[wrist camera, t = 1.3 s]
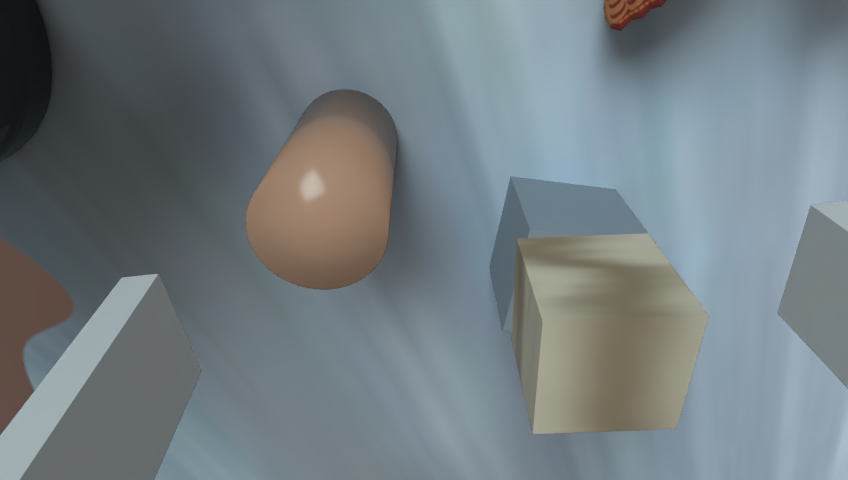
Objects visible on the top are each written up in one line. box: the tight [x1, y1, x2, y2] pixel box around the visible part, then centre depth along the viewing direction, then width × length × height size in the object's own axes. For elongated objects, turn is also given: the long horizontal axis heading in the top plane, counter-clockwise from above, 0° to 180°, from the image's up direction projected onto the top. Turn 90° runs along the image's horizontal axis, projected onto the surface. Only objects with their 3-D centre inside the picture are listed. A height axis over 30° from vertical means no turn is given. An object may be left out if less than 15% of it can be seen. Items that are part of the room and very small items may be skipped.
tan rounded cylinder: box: [246, 89, 397, 290], centre depth 24 cm, size 5×5×10 cm
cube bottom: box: [490, 177, 655, 332], centre depth 29 cm, size 6×6×6 cm
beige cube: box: [511, 233, 709, 434], centre depth 24 cm, size 6×6×6 cm
